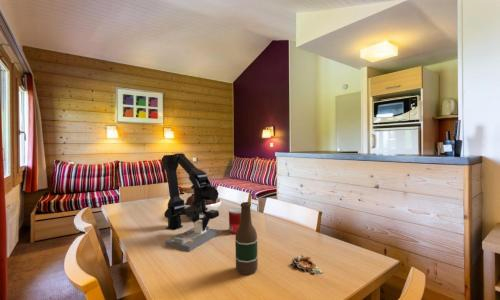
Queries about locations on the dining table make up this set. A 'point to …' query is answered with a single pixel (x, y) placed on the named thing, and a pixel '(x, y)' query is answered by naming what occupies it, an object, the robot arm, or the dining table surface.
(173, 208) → the robot arm
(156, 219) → the dining table surface
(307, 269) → the pastry
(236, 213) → the canned food
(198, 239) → the console plate
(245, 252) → the beer bottle
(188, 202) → the white serving bowl
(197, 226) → the fader tab
